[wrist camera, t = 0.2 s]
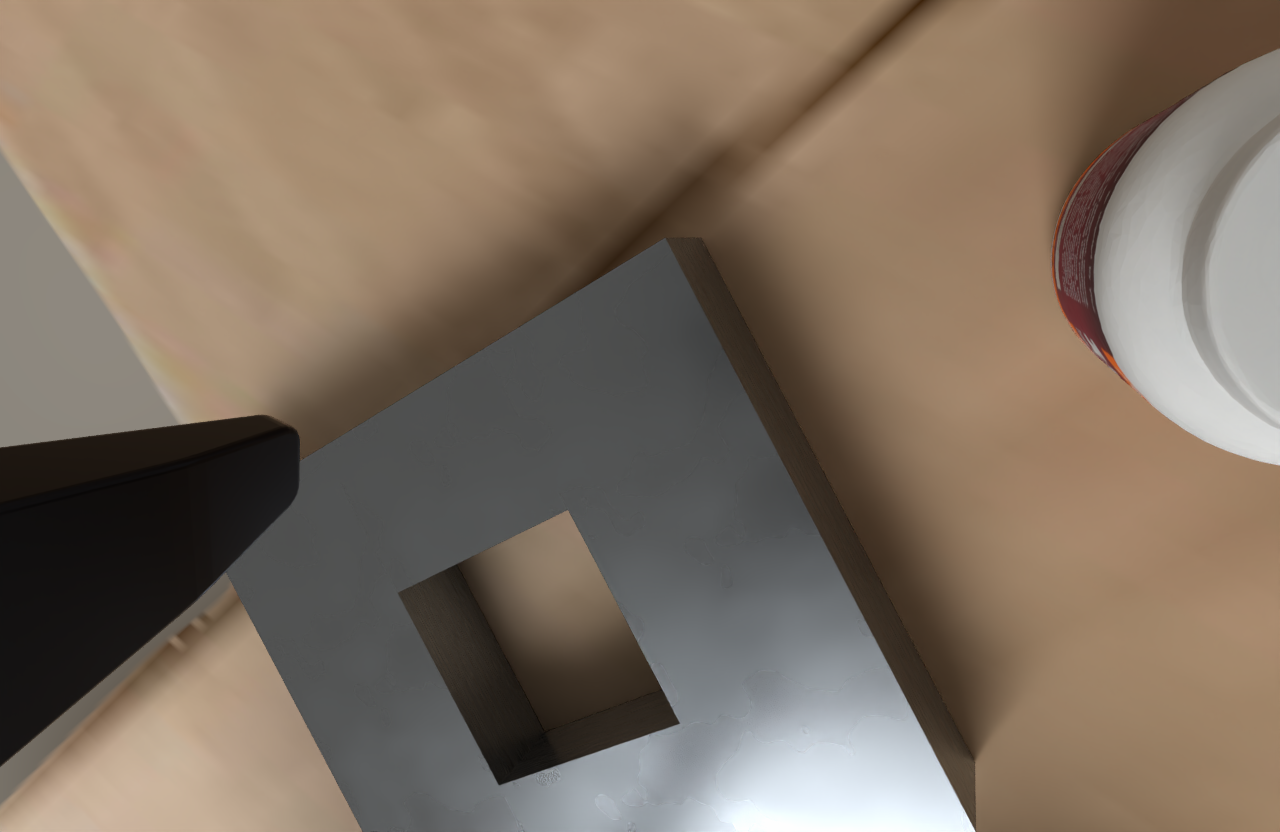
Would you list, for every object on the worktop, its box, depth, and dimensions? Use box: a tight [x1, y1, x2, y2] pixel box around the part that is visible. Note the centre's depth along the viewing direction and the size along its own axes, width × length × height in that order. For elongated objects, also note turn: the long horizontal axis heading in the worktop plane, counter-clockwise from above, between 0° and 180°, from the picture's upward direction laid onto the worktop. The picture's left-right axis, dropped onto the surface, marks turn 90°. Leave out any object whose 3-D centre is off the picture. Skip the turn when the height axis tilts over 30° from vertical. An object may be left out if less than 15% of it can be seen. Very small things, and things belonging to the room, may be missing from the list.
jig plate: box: [226, 238, 976, 832], centre depth 26 cm, size 18×16×3 cm
